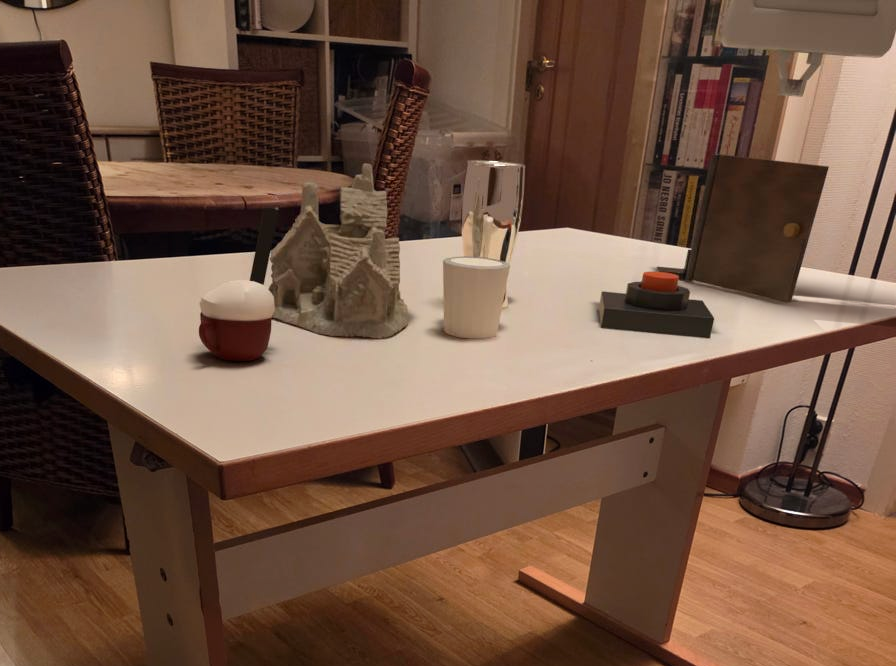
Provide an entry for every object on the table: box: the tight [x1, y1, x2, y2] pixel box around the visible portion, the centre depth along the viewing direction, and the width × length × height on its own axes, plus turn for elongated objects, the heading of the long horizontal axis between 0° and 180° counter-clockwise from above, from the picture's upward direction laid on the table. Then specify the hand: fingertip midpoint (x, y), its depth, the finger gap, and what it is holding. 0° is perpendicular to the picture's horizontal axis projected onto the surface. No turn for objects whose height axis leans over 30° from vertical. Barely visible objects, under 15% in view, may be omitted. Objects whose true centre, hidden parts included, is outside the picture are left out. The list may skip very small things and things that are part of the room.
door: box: [685, 153, 830, 304], centre depth 116 cm, size 18×2×16 cm, turn 35°
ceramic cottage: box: [268, 163, 409, 340], centre depth 89 cm, size 16×16×15 cm
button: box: [641, 271, 680, 292], centre depth 98 cm, size 4×4×2 cm
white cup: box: [442, 255, 511, 339], centre depth 89 cm, size 7×7×7 cm
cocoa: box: [198, 205, 280, 362], centre depth 75 cm, size 10×6×12 cm, turn 126°
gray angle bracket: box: [655, 249, 693, 282], centre depth 128 cm, size 5×4×4 cm
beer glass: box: [460, 159, 526, 310], centre depth 100 cm, size 7×7×15 cm
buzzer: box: [598, 281, 715, 339], centre depth 99 cm, size 12×10×4 cm
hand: (789, 96), depth 110 cm, fingers closed
